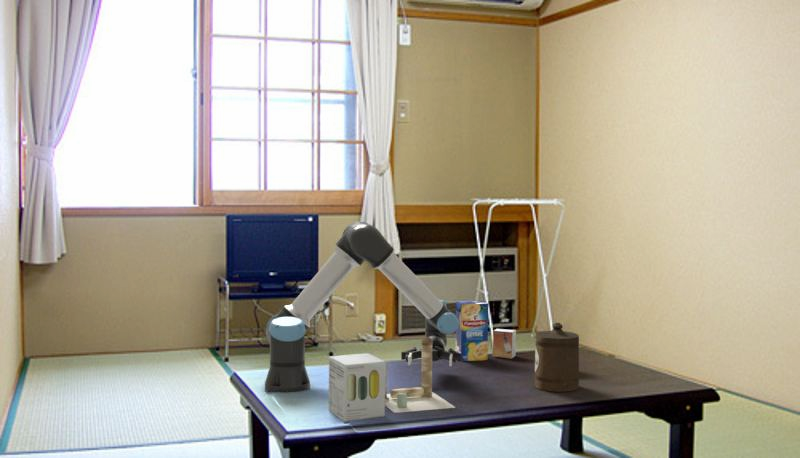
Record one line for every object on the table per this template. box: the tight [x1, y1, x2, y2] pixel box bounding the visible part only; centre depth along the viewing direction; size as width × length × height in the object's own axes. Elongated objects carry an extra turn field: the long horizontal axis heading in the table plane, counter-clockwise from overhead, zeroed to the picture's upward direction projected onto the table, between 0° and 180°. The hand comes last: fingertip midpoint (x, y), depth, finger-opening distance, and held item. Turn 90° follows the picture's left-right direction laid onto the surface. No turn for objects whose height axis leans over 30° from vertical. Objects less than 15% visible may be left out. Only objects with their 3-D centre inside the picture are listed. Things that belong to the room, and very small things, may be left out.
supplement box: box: [328, 352, 386, 424], centre depth 274 cm, size 13×13×18 cm
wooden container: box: [534, 322, 580, 393], centre depth 311 cm, size 15×15×22 cm
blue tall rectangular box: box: [454, 300, 489, 362], centre depth 355 cm, size 7×11×22 cm, turn 106°
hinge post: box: [385, 361, 389, 402], centre depth 289 cm, size 4×4×12 cm
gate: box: [389, 336, 433, 398], centre depth 292 cm, size 14×4×19 cm, turn 109°
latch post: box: [397, 393, 407, 408], centre depth 282 cm, size 3×3×4 cm
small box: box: [492, 328, 517, 359], centre depth 360 cm, size 8×6×10 cm
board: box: [385, 391, 456, 414], centre depth 289 cm, size 20×22×1 cm
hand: (429, 361), depth 300 cm, fingers open, 13 cm apart
